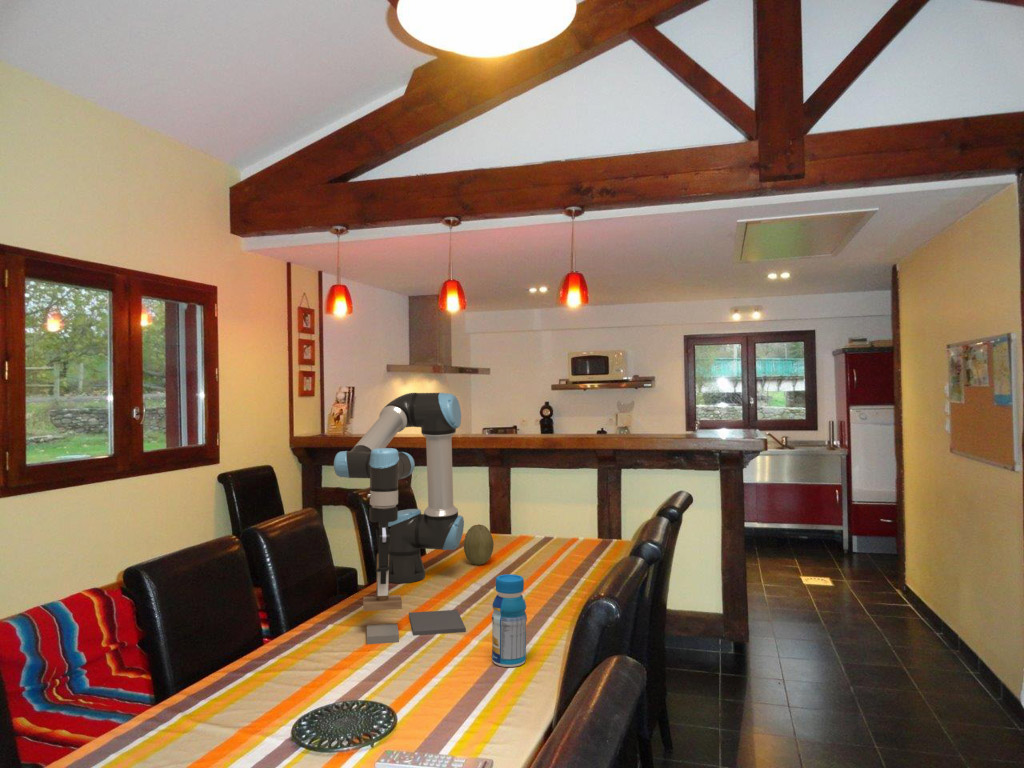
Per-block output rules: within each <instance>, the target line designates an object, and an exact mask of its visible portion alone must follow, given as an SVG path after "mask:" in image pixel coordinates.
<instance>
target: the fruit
mask: <svg viewBox="0 0 1024 768" xmlns="http://www.w3.org/2000/svg"><path fill="white" fill-rule="evenodd" d="M494 546H495V545H494V539H493V536H492V533H491V531H490V529H488V527H487V526H486V525H483V524H479V523H478V524H474V525H472V526H471V527H470V528H469V529H468V530H467V532H466V533H465V536H464V541H463V551H464V552H463V553H464V556H465V557H466V559H467V561H468V562H470V563H471V564H473V565H480V566H481V565H484V564H486V563H487V562H488V561H489V560H490V558H491V557H492V554H493V551H494Z"/></svg>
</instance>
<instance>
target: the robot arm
mask: <svg viewBox="0 0 1024 768" xmlns="http://www.w3.org/2000/svg"><path fill="white" fill-rule="evenodd" d="M461 423H462V410H461V406H460V402H459V399H458V398H457V396H456V395H454V394H453V393H449V392H447V393H445V392H409V393H405V394H403V395H400V396H398V397H396V398H394V399H392V400H391V401H390V402H389V403H387V404H386V405H385V406H384V407H383V408H382V409H381V411H380V412H379V416H378V418H377V420H376V421H375V422H374V423H373V425H371V427H370V428H369V429H368V430H367V431H366V433H364V435H363V436H362V437H361V438H360V439H359V441H358V442H357V443H356V444H355V445H354V447H353V448H352V449H351V450H350V451H348V450H345V451H344V450H343V451H339V452H337V453H336V454H335V456H334V460H333V468H334V469H333V470H334V473H335V474H336V476H337V477H339V478H347V479H369V493H367V498H369V505H370V507H369V511H368V512H369V513H368V515H369V521H370V522H373V523H378V526H375V535H376V545H377V554H379V568H378V569H377V568H376V569H375V572H376V573H377V572H378V596H389V594H388V570H389V583H395V584H404V583H405V584H407V583H413V582H418V581H422V580H424V579H425V577H426V569H425V566H424V562H423V560H422V556H421V549H423V550H424V549H425V550H440V551H441V550H443V551H454V550H456V549H457V548H458V547H459V545H460V543H461V540H462V538H463V534H464V533H463V532H464V528H465V527H464V525H465V519H464V516H463V515H459V510H458V508H457V507H456V506H455V505H454V484H453V482H454V481H453V480H454V479H453V476H454V475H453V449H452V447H453V444H452V442H453V441H452V438H453V436H454V435H455V434H456V433H457V432H456V431H457V429H458V428H459V427H461ZM406 428H420V430H421V431H420V432H421V435H422V436H424V438H425V440H426V441H425V444H426V447H425V450H426V472H427V473H426V475H427V476H426V477H427V478H426V479H427V505H428V506H427V507H426V508H425V509H424V510H423V513H422V510H421V509H420V508H407V509H403V510H402V509H401V510H399V508H398V506H397V505H399V480H403V479H406V478H407V477H409V476H411V474H413V472H414V470H415V459H414V458H413V456H412V455H411V454H409V453H408V452H404V451H399V450H397V448H392V447H387V446H388V445H389V444H390V443H391V441H392V440H393V439H394V437H395V436H396V435H397V433H400V432H403V430H405V429H406ZM388 563H389V567H388Z"/></svg>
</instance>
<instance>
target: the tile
mask: <svg viewBox="0 0 1024 768" xmlns="http://www.w3.org/2000/svg"><path fill="white" fill-rule="evenodd" d="M393 643H394V644H395V643H396V644H397V643H400V633H399V627H398V623H396V622H395V623H383V624H382V623H381V624H368V625H366V644H367V645H379V644H393Z"/></svg>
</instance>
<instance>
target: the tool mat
mask: <svg viewBox="0 0 1024 768" xmlns="http://www.w3.org/2000/svg"><path fill="white" fill-rule="evenodd" d="M408 618H409V622H410V626H411V632H412V636H423V635H425V636H426V635H427V636H428V635H438V634H453V633H456V634H457V633H466V632H467V631H466V630H467V628H466V626H465V623H464V622H463V619H462V617H461V614H460V613H459V610H458V609H450V610H432V611H431V610H429V611H415V612H413V611H412V612H408Z"/></svg>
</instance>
